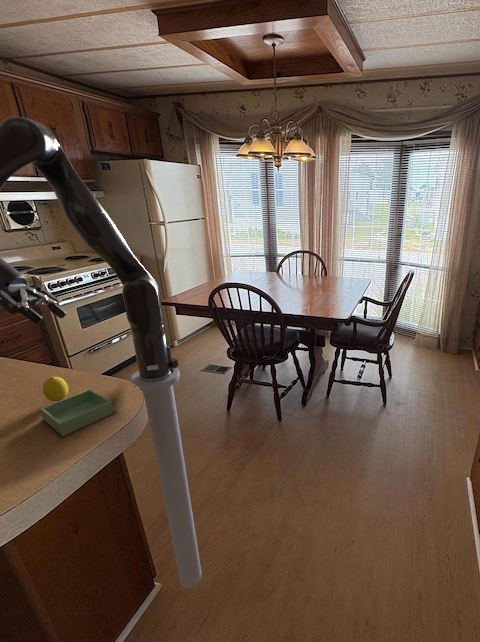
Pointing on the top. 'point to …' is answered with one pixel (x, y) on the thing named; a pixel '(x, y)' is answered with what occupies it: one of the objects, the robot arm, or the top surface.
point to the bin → (76, 411)
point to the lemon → (55, 389)
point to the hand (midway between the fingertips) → (52, 318)
